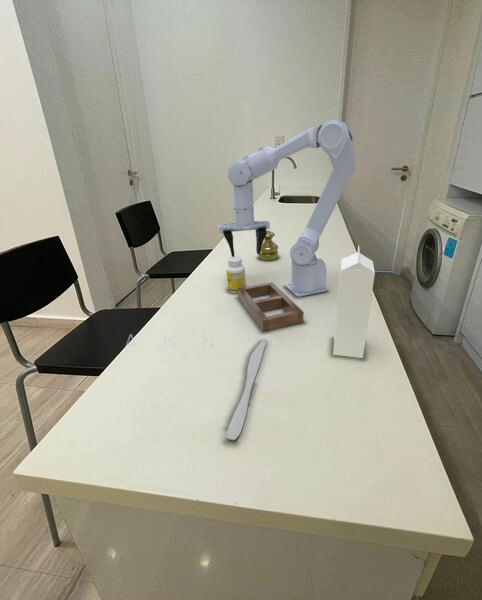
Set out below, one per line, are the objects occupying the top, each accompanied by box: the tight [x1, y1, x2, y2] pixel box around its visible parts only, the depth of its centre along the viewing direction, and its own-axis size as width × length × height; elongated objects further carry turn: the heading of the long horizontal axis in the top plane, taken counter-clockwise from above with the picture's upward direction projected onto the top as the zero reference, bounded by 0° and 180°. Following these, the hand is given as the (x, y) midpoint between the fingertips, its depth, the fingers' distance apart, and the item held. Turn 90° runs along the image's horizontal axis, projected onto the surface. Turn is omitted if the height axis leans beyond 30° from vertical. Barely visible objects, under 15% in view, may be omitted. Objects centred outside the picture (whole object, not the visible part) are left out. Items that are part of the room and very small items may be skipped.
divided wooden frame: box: [237, 281, 304, 332], centre depth 86 cm, size 10×20×3 cm, turn 20°
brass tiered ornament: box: [257, 230, 279, 262], centre depth 120 cm, size 7×7×10 cm
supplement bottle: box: [225, 256, 247, 294], centre depth 96 cm, size 5×5×10 cm
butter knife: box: [226, 340, 267, 441], centre depth 62 cm, size 1×27×3 cm
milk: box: [332, 244, 376, 359], centre depth 65 cm, size 6×6×22 cm
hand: (245, 254), depth 98 cm, fingers open, 7 cm apart
